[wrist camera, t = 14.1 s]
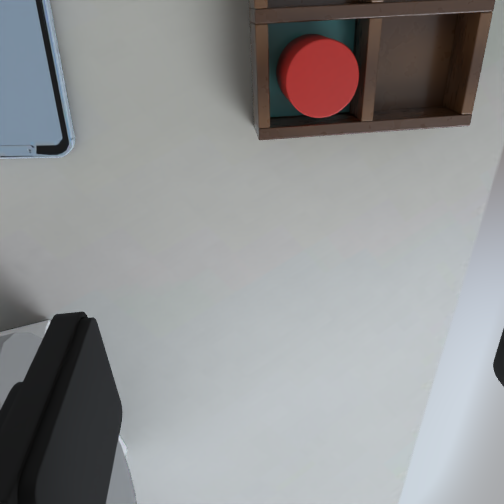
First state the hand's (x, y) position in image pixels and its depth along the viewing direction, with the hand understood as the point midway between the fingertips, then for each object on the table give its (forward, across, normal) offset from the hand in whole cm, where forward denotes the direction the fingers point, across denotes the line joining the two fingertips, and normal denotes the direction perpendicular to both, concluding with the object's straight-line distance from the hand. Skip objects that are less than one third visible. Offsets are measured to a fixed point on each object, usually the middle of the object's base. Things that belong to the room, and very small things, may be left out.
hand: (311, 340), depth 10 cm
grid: (+21, -7, -6) cm, 23 cm away
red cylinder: (+21, -4, -2) cm, 21 cm away
